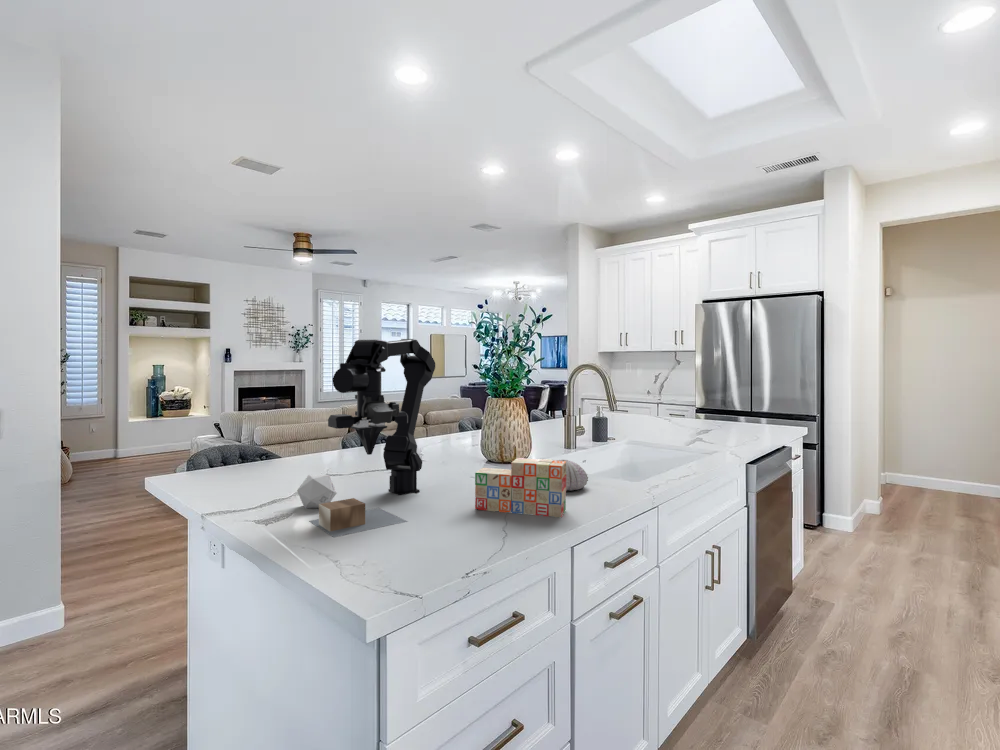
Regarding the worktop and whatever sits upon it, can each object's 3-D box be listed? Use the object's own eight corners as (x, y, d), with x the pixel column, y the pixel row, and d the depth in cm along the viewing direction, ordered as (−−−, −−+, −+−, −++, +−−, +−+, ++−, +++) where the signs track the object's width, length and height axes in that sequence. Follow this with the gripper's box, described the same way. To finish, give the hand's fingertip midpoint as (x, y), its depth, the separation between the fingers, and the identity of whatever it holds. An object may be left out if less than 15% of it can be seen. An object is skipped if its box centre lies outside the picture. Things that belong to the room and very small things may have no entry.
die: (313, 517, 124) (338, 481, 127) (284, 497, 126) (310, 462, 129) (324, 519, 132) (347, 486, 135) (296, 501, 134) (320, 468, 136)
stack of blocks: (474, 510, 129) (474, 459, 128) (482, 503, 135) (482, 455, 134) (561, 518, 122) (562, 465, 122) (566, 510, 128) (566, 460, 128)
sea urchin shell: (534, 491, 147) (534, 462, 147) (547, 481, 160) (547, 454, 160) (582, 495, 143) (582, 466, 142) (591, 484, 155) (591, 457, 155)
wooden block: (353, 498, 120) (318, 504, 115) (365, 503, 116) (329, 510, 111) (353, 517, 121) (318, 524, 116) (365, 524, 116) (329, 531, 111)
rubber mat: (378, 508, 129) (378, 507, 129) (407, 522, 118) (407, 521, 118) (308, 522, 118) (308, 520, 118) (333, 538, 107) (333, 537, 107)
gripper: (346, 393, 118) (346, 463, 118) (419, 391, 130) (419, 454, 130) (326, 391, 126) (327, 456, 127) (397, 389, 138) (397, 448, 139)
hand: (369, 454), depth 130 cm, fingers closed
